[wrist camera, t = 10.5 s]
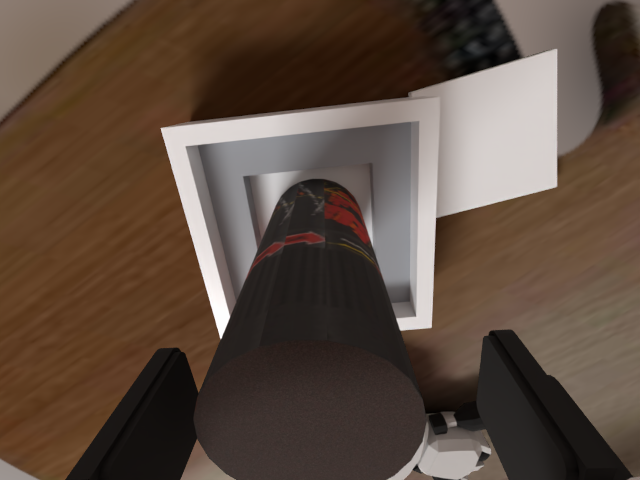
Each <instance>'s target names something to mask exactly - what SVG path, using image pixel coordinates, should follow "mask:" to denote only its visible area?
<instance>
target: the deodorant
mask: <svg viewBox="0 0 640 480" xmlns="http://www.w3.org/2000/svg"><path fill="white" fill-rule="evenodd" d="M193 420H194V425H195V430H196V434H197V439H198V441H199V443H200V444H201V446H202V447H203V449H204V451H205V452H206V454H207V456H208V457H209V459H211V460H212V461H213V462H214V463H215V464H216V465H217V466H218V467H219V468H220V469H221V470H222V471H223V472H225V473H226V474H227V475H229V476H231V477H233V478H234V479H236V480H387V479H389V478H391V477H393V476H395V475H396V474H397V473H398V472H399V471H400V470H401V469H402V468H403V467H404V466H406V465H407V464H408V463H409V462H410V461H411V460H412V458H413V457H414V455H415V453H416V452H417V450H418V449H419V447H420V445H421V444H422V442H423V438H424V433H425V428H426V423H427V419H426V414H425V408H424V403H423V399H422V396H421V392H420V389H419V386H418V383H417V380H416V377H415V374H414V371H413V368H412V365H411V362H410V359H409V356H408V353H407V350H406V347H405V344H404V341H403V338H402V335H401V332H400V329H399V325H398V322H397V319H396V316H395V313H394V310H393V307H392V304H391V301H390V298H389V295H388V292H387V289H386V286H385V283H384V280H383V277H382V274H381V271H380V268H379V265H378V261H377V258H376V255H375V252H374V249H373V246H372V243H371V240H370V237H369V234H368V231H367V228H366V225H365V222H364V219H363V216H362V213H361V210H360V207H359V205H358V203H357V201H356V199H355V197H354V196H353V195H352V194H351V193H350V192H349V191H348V190H347V189H346V188H345V187H343V186H342V185H340V184H338V183H336V182H334V181H330V180H326V179H309V180H305V181H301V182H299V183H297V184H295V185H293V186H291V187H290V188H289V189H288V190H287V191H286V192H285V193H284V194H283V195H282V196H281V197H280V199H279V201H278V202H277V204H276V206H275V209H274V211H273V213H272V216H271V218H270V221H269V223H268V226H267V228H266V231H265V233H264V235H263V238H262V240H261V243H260V245H259V248H258V250H257V253H256V255H255V257H254V260H253V262H252V265H251V267H250V270H249V272H248V274H247V277H246V279H245V282H244V284H243V287H242V289H241V292H240V294H239V296H238V299H237V301H236V304H235V306H234V309H233V311H232V314H231V316H230V318H229V321H228V323H227V326H226V328H225V331H224V333H223V336H222V338H221V340H220V343H219V345H218V348H217V350H216V353H215V355H214V357H213V360H212V362H211V365H210V367H209V370H208V372H207V375H206V377H205V379H204V382H203V384H202V387H201V389H200V392H199V394H198V397H197V401H196V406H195V412H194V417H193Z"/></svg>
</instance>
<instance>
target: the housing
mask: <svg viewBox="0 0 640 480" xmlns="http://www.w3.org/2000/svg"><path fill="white" fill-rule="evenodd" d="M440 98H441V97H432V96H419V97H406V98H397V99H388V100H379V101H370V102H361V103H352V104H343V105H335V106H326V107H317V108H308V109H299V110H290V111H281V112H272V113H263V114H255V115H246V116H237V117H228V118H219V119H210V120H201V121H192V122H186V123H182V124H177V125H173V126H168V127H164V128H161V131H162V134H163V138H164V141H165V145H166V148H167V152H168V155H169V159H170V162H171V166H172V169H173V173H174V176H175V180H176V183H177V187H178V190H179V194H180V198H181V201H182V205H183V208H184V212H185V215H186V219H187V222H188V226H189V229H190V233H191V236H192V240H193V243H194V247H195V250H196V254H197V257H198V261H199V264H200V268H201V271H202V275H203V278H204V282H205V285H206V289H207V292H208V296H209V299H210V303H211V306H212V310H213V313H214V317H215V320H216V324H217V327H218V331H219V334H220V338H222V336H223V333H224V331H225V328H226V326H227V323H228V321H229V318H230V316H231V314H232V311H233V309H234V306H235V304H236V301H237V299H238V296H239V294H240V292H241V289H242V287H243V284H244V282H245V279H246V277H247V274H248V272H249V270H250V267H251V265H252V262H253V260H254V257H255V255H256V253H257V250H258V248H259V245H260V243H261V240H262V238H263V235H264V233H265V231H266V228H267V226H268V223H269V221H270V218H271V216H272V213H273V211H274V209H275V206H276V204H277V202H278V201H279V199H280V197H281V196H282V195H283V194H284V193H285V192H286V191H287V190H288V189H289V188H290V187H291V186H293V185H295V184H297V183H299V182H301V181H305V180H309V179H326V180H330V181H334V182H336V183H338V184H340V185H342V186H343V187H345V188H346V189H347V190H348V191H349V192H350V193H351V194H352V195H353V196H354V197H355V199H356V201H357V203H358V205H359V207H360V210H361V213H362V216H363V219H364V222H365V225H366V228H367V231H368V234H369V237H370V240H371V243H372V246H373V249H374V252H375V255H376V258H377V261H378V265H379V268H380V271H381V274H382V277H383V280H384V283H385V286H386V289H387V292H388V295H389V298H390V301H391V304H392V307H393V310H394V313H395V316H396V319H397V322H398V325H399V329H400V330H411V329H424V328H432V303H433V278H434V252H435V226H436V201H437V175H438V149H439V124H440Z"/></svg>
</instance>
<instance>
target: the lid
mask: <svg viewBox="0 0 640 480" xmlns="http://www.w3.org/2000/svg"><path fill="white" fill-rule="evenodd" d="M408 96H409V97H419V96H432V97H441V98H440V124H439V149H438V175H437V201H436V218H438V217H442V216H446V215H449V214H453V213H457V212H461V211H465V210H469V209H473V208H477V207H481V206H485V205H488V204H492V203H496V202H500V201H504V200H508V199H512V198H516V197H520V196H524V195H527V194H531V193H535V192H539V191H543V190H547V189H551V188H555V187H557V49H553V50H547V51H544V52H541V53H537V54H534V55H531V56H527V57H524V58H521V59H518V60H514V61H511V62H508V63H504V64H501V65H498V66H495V67H491V68H488V69H485V70H481V71H478V72H475V73H471V74H468V75H465V76H462V77H458V78H455V79H452V80H448V81H445V82H442V83H439V84H435V85H432V86H429V87H425V88H422V89H419V90H415V91H412V92H409V93H408Z"/></svg>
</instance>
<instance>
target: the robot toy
mask: <svg viewBox="0 0 640 480" xmlns="http://www.w3.org/2000/svg"><path fill="white" fill-rule="evenodd" d="M426 419H427V423H426V428H425V433H424V438H423V442H422V444H421V445H420V447H419V449H418V450H417V452H416V453H415V455H414V457H413V458H412V460H411V461H410V462H409V463H408V464H407V465H406V466H404V467H403V468H402V469H401V470H400V471H399V472H398V473H397V474H396V475H395V476H393V477H391V478H389V479H387V480H404V479H405V478H406V477H407V476H408V475H409V474H410V472H411V471H412V470H414V471H416V472H419V473H425V474H427V475H430V476H432V477H433V479H434V480H468V476H467V475H468V474H470V472H471V471H477V470H479V469H480V468H481V467H483V466H484V463H483V461H484V460H486V459H487V458H488V457H489V456H490V454H491V449H490V446H489V444H488V442H487V441H486V439H485V437H484V436H483V434H482V432H481V430H483V429H486V428H485V426H484V423H483V421H482V419H481V417H480V415H479V412H478V409H477V403H476V401H473V402H468V403H464V404H463V405H462V406H461V407H460V408H459V409H458V410H457V411H456V412H440V413H431V414H426Z"/></svg>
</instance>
